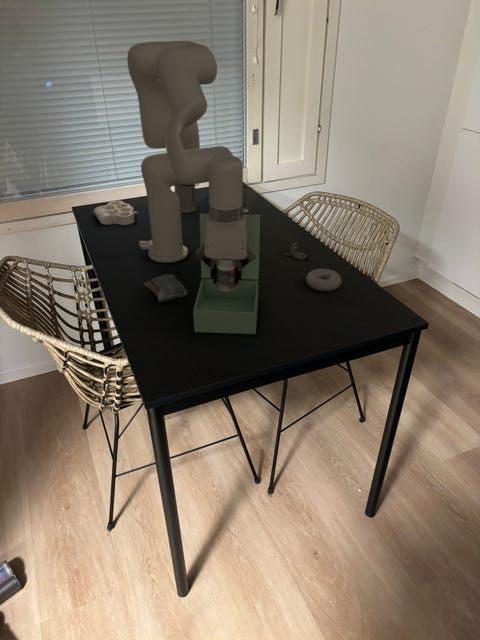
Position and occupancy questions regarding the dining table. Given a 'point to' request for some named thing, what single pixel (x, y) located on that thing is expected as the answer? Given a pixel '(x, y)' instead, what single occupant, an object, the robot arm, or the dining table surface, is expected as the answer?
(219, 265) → the pill bottle
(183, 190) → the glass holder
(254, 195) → the dining table surface
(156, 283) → the packaged food
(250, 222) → the lunchbox lid
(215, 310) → the box
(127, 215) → the beige paint palette tray
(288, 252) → the strap clip
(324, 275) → the donut
